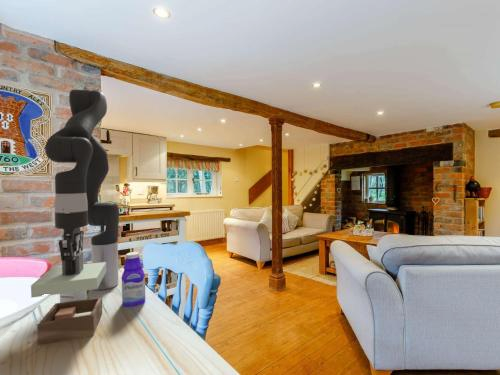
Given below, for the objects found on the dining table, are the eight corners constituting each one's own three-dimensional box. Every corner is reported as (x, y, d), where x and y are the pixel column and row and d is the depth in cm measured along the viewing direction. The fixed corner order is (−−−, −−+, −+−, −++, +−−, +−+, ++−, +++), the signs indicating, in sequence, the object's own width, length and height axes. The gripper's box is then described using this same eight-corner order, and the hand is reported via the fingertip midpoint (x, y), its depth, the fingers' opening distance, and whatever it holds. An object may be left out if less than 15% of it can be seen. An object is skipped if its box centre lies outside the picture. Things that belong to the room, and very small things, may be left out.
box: (55, 323, 76) (55, 303, 76) (102, 316, 80) (102, 297, 80) (38, 348, 65) (37, 324, 64) (93, 338, 69) (93, 315, 69)
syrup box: (74, 313, 82) (74, 267, 82) (59, 311, 83) (58, 266, 83) (89, 305, 87) (88, 262, 87) (74, 303, 89) (73, 261, 88)
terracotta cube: (60, 322, 75) (59, 308, 75) (76, 320, 76) (76, 306, 76) (55, 330, 71) (54, 315, 71) (72, 327, 73) (71, 313, 72)
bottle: (122, 310, 83) (121, 256, 83) (121, 303, 88) (120, 252, 88) (146, 305, 87) (145, 253, 86) (144, 299, 92) (143, 250, 91)
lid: (52, 277, 76) (51, 250, 76) (106, 271, 81) (105, 246, 81) (31, 297, 63) (30, 265, 63) (97, 289, 68) (96, 258, 68)
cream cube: (75, 328, 72) (75, 314, 72) (91, 325, 73) (91, 311, 73) (70, 336, 68) (70, 321, 68) (88, 333, 70) (88, 318, 69)
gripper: (63, 207, 77) (65, 265, 77) (44, 213, 64) (46, 282, 64) (93, 206, 80) (94, 262, 80) (80, 212, 66) (82, 278, 67)
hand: (73, 271), depth 72 cm, fingers closed on lid, 4 cm apart
